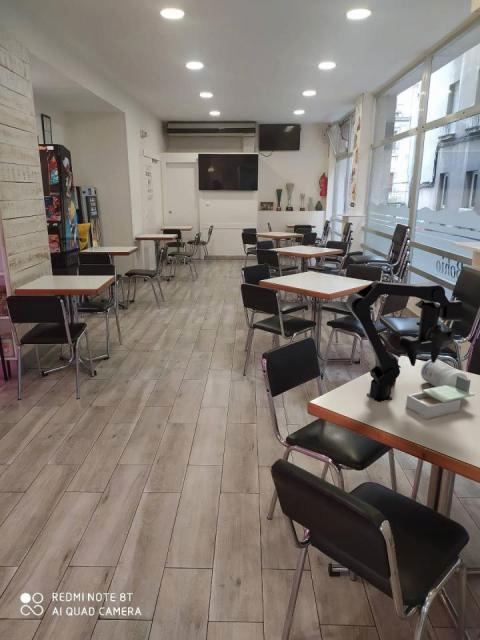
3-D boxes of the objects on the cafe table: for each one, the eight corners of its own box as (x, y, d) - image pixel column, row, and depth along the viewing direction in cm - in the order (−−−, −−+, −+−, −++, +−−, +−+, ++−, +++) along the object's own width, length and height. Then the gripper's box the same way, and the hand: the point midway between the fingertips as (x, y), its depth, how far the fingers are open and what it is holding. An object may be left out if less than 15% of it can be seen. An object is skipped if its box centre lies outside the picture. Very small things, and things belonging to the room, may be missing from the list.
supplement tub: (445, 372, 170) (472, 388, 156) (424, 385, 169) (450, 402, 156) (437, 353, 166) (464, 367, 153) (416, 366, 166) (441, 382, 152)
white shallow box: (426, 419, 139) (428, 406, 138) (405, 407, 147) (407, 395, 146) (458, 412, 145) (460, 399, 144) (436, 400, 153) (438, 388, 151)
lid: (443, 402, 141) (445, 389, 139) (422, 391, 148) (424, 378, 147) (474, 395, 146) (476, 382, 145) (452, 385, 154) (454, 373, 152)
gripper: (426, 329, 137) (420, 376, 141) (469, 324, 144) (462, 368, 148) (400, 320, 147) (395, 364, 151) (442, 315, 154) (436, 357, 158)
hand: (423, 364), depth 152 cm, fingers open, 9 cm apart
